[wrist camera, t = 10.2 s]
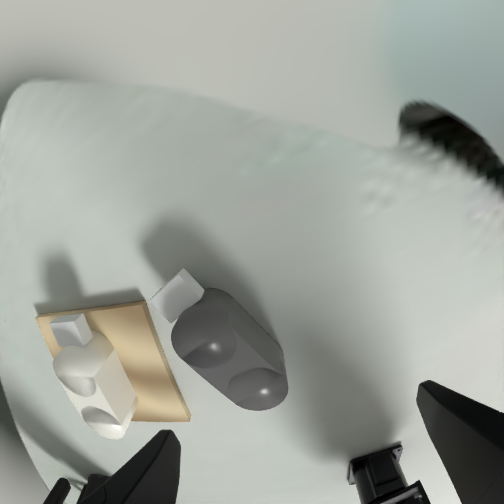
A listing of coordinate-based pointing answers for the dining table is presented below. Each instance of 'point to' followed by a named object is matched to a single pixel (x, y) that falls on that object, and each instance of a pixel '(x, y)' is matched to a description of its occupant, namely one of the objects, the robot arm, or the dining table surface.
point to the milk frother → (63, 487)
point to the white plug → (93, 376)
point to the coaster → (132, 357)
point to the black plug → (223, 343)
